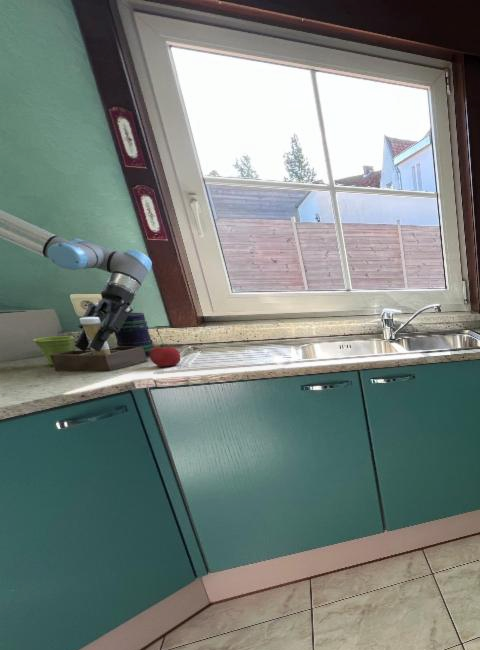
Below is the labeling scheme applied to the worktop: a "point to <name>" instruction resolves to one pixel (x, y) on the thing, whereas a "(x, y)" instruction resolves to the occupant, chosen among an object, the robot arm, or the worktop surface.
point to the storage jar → (135, 333)
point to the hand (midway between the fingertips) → (87, 348)
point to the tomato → (164, 356)
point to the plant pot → (54, 345)
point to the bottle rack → (98, 359)
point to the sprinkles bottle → (94, 333)
